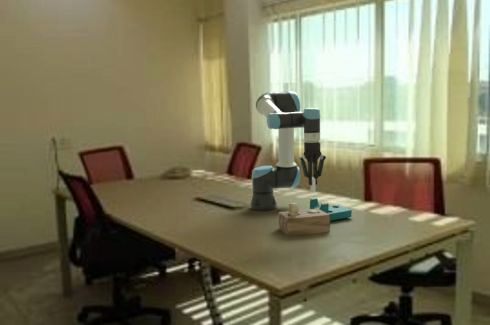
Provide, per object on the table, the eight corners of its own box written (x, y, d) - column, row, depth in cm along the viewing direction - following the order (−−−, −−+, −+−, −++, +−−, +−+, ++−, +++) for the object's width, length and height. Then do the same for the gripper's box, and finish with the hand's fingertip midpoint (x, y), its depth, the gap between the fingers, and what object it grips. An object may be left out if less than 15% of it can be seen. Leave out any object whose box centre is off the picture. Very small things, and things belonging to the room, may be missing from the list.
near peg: (288, 220, 248) (287, 203, 247) (296, 219, 249) (295, 202, 248) (291, 222, 244) (290, 205, 243) (299, 221, 245) (298, 204, 244)
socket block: (279, 228, 253) (278, 212, 252) (318, 224, 258) (317, 208, 257) (288, 236, 240) (288, 218, 238) (329, 231, 245) (329, 214, 243)
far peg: (308, 227, 251) (307, 210, 250) (316, 226, 252) (315, 210, 251) (311, 229, 248) (311, 212, 246) (319, 228, 249) (319, 211, 247)
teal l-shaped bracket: (321, 224, 259) (322, 204, 257) (309, 218, 269) (310, 198, 267) (351, 219, 267) (352, 199, 265) (338, 213, 277) (338, 194, 275)
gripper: (301, 143, 239) (302, 194, 242) (328, 141, 242) (329, 192, 246) (296, 141, 246) (297, 191, 250) (322, 140, 250) (322, 189, 253)
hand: (313, 191), depth 248 cm, fingers closed
